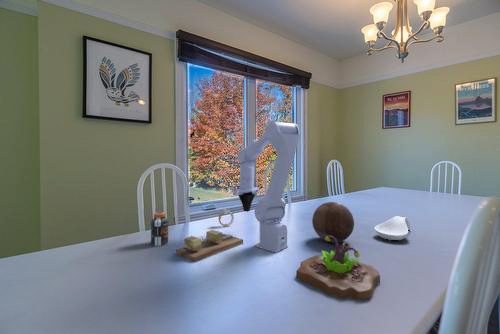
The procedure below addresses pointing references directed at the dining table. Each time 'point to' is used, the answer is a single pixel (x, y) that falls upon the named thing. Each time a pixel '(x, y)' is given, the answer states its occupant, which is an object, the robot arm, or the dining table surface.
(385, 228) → the spoon rest
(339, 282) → the plant
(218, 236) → the block
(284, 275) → the dining table surface
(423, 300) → the dining table surface
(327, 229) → the wooden sphere
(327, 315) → the dining table surface
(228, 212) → the ring
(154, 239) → the pill bottle
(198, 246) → the flat brown board
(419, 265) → the dining table surface
